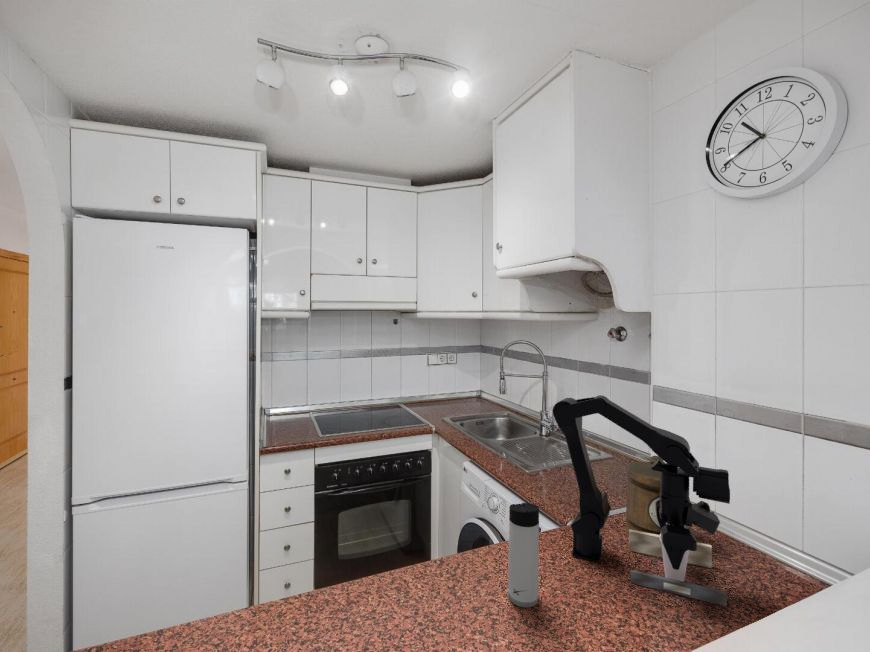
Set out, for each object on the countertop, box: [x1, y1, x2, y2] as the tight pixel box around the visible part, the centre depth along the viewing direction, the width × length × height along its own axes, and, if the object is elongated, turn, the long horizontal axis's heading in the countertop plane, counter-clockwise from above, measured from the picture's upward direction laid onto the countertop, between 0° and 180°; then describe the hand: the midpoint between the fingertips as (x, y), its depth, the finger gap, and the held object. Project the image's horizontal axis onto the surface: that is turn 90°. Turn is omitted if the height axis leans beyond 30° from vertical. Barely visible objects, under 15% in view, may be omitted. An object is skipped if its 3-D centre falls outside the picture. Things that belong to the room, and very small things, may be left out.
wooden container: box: [625, 455, 688, 535], centre depth 113 cm, size 15×15×22 cm
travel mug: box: [507, 502, 540, 608], centre depth 86 cm, size 6×7×20 cm
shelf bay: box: [628, 529, 728, 607], centre depth 95 cm, size 18×16×5 cm
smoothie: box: [659, 533, 689, 582], centre depth 93 cm, size 6×6×14 cm
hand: (673, 559), depth 93 cm, fingers closed on smoothie, 7 cm apart
